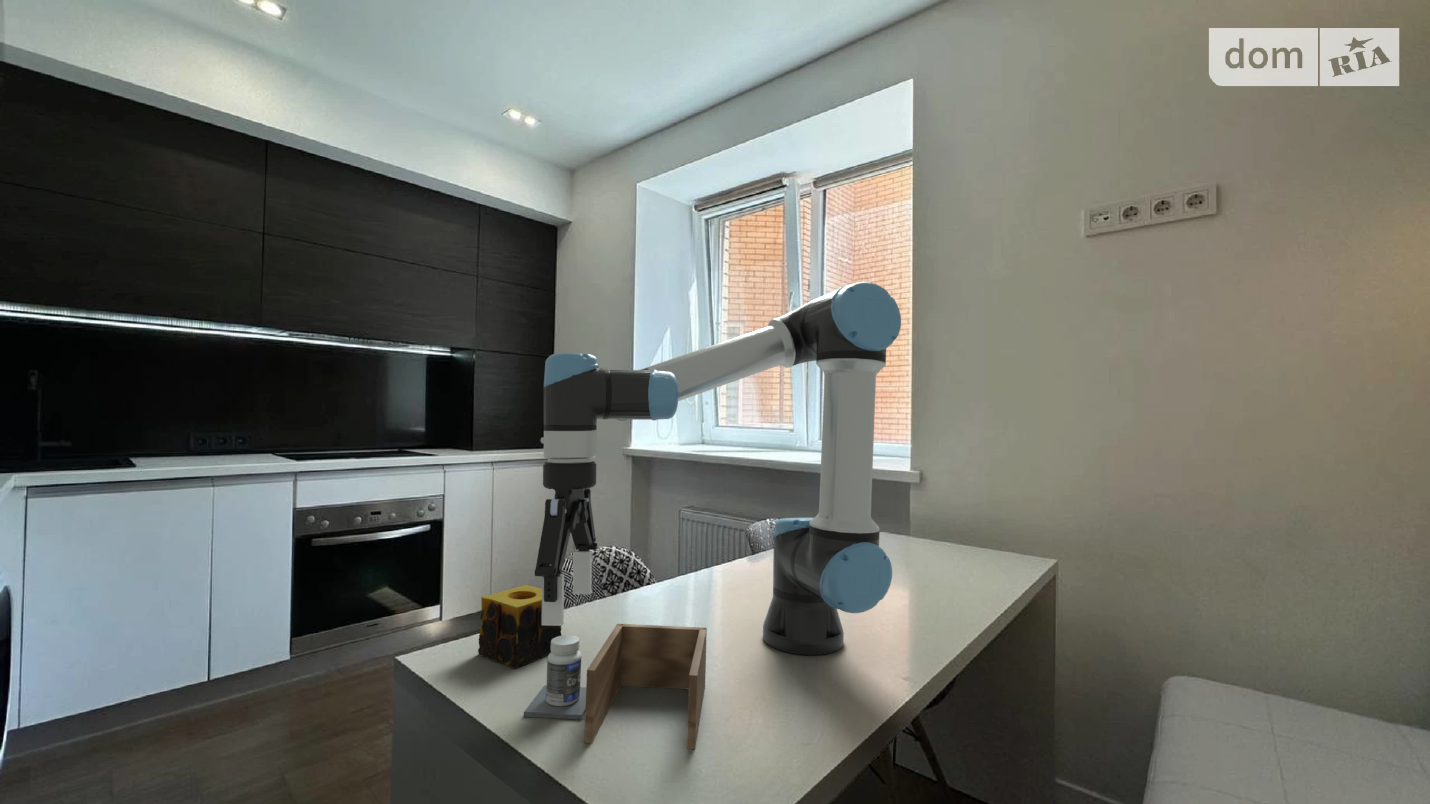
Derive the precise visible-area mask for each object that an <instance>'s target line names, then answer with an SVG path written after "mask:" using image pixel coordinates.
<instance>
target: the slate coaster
mask: <svg viewBox="0 0 1430 804" xmlns="http://www.w3.org/2000/svg"><path fill="white" fill-rule="evenodd" d="M546 685H547V684H545V685H543V687H541V689H540V691H539V692H538V693H537V694H536V696H535V697H534V698H533V699H532V701H531V702H530V703H529V705H528V706H527V707H526V708H525V710H524V711H523V717H526V718H527V717H528V718H529V717H531V718H547V719H549V718H550V719H565V720H566V719H567V720H582V719H583V718H584V717H585V712H586V687H583V686H582V687H581V686H580V698H579V699H578V700H577V701H576V702H575V703H573V704H571V705H567V706H553V705H550V704H549V703H547V701H546Z"/></svg>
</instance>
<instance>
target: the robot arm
mask: <svg viewBox="0 0 1430 804" xmlns="http://www.w3.org/2000/svg"><path fill="white" fill-rule="evenodd" d="M901 327H902V315H901V311H900V308H899V306H898V303H897V302H896V300H895V298H894V297H892V296H891V295H890V293H889V292H888V290H887V289H885V288H884V287H882V286H881V285H879V284H877V283H873V282H870V281H859V282H856V283H850V284H849V283H848V284H845V285H843V286H841V287H839V288H838V289H836V290H834V291H831V292H829V293H827V294H825V295H821V296H819V297H815V298H814V299H813V300H810V301H809V302H807V303H805V304H803V305H801V306H799V307H798V308H796V309H795V310H793V311H789V312H787V313H786V314H783V315H781V316H779V317H775V318H773V319H770V321H769V322H768V324H767V326H765V327H763V328H759V329H756V330H754V331H751V332H748V333H745V334H741V335H738V336H736V337H733V338H731V339H727V340H724V341H722V342H717V343H715V344H713V345H712V344H711V345H709V346H706V347H703V348H701V349H697V350H694V351H692V352H688V353H685V354H682V355H680V356H677V357H676V356H675V357H674V358H671V359H668V360H665V361H662V362H659V363H656V364H653V365H649V366H647V367H645V368H641V369H607V368H602V367H600V368H599V364H598V358H597V357H596V356H595V355H594V354H593V355H592V354H589V353H579V352H561V353H560V352H559V353H558V352H557V353H553V354H551V355H549V356H548V357H547V358H546V360H545V365H544V376H543V377H544V378H543V379H544V380H543V437H541V438H540V443H541V444H543V457H544V458H545V459H547V461H545V462H544V464H543V465H542V485H543V487H544V489H548V490H554V492H555V493H554V498H552V499H551V498H547V499H545V503H544V517H543V523H542V524H543V525H542V531H541V535H540V540H539V541H540V542H539V546H538V547H539V548H538V553H537V559H536V564H535V569H534V576H535V577H541V589H542V625H548V626H561V627H562V626H563V625H564V624H565V622H564V619H565V618H564V616H565V615H564V613H565V610H564V609H565V607H564V606H565V605H564V604H565V603H564V601H565V574H562V571H563V567H564V563H565V562H564V561H565V557H566V553H567V549H568V545H569V541H570V537H572V541H573V544H574V547H575V550H574V551H573V552H572V553H573V554H572V563H573V564H572V595H591V594H592V568H593V567H592V564H593V563H592V561H593V559H592V557H593V555H592V553H593V551H597V550H598V543H597V542H596V541H597V538H596V531H595V524H594V523H595V522H594V516H593V509H592V508H593V507H592V501H591V500H592V499H591V498H592V497H591V496H592V495H591V493H592V490H591V488H593V487H595V486H596V484H597V463H596V461H594V459H595V458H596V457H597V456H598V454H597V453H598V450H597V448H598V447H597V446H598V444H597V443H598V442H597V441H598V440H597V439H598V437H597V436H598V434H597V433H598V431H597V423H598V420H617V421H627V420H629V421H633V420H638V421H639V420H644V421H645V420H646V421H647V420H651V421H658V420H670V419H672V418H673V417H674V416H675V415H676V412H677V410H678V405H679V402H680V401H682V400H685V399H688V398H692V397H694V396H697V395H700V394H703V393H706V392H709V391H711V390H715V389H717V388H718V387H722V386H725V385H729V384H731V383H733V382H736V381H739V380H741V379H742V380H743V379H744V378H749V377H750V376H753V375H755V374H758V373H761V372H763V371H767V370H770V369H772V368H775V367H778V366H781V367H784V368H791V367H793V366H794V367H795V366H796V365H799V364H804V363H809V362H814V361H815V362H816V363H815V364H816V366H817V367H819V369H820V371H822V373H823V374H824V377H823V378H824V381H823V402H822V407H823V408H822V426H821V427H822V432H821V454H820V456H821V457H820V474H819V475H820V477H819V478H820V479H819V503H818V504H819V505H818V506H819V507H818V508H819V509H818V513H817V514H816V516H815V517H786V518H785V517H784V518H780V519H777V521H776V522H775V524H774V531H773V536H772V537H773V538H772V539H773V566H772V567H773V571H772V572H773V573H772V575H773V577H772V598H771V601H770V604H769V606H768V609H767V613H766V616H765V619H764V621H763V625H762V640H763V641H764V642H765V643H766V644H767V645H768V646H770V647H771V648H774V649H776V650H778V651H782V652H784V653H789V654H794V655H795V654H796V655H802V656H803V655H805V656H818V655H819V656H820V655H827V654H828V655H829V654H832V653H835V652H837V651H839V650H840V649H842V648H843V646H844V633H845V632H844V628H843V626H842V625H843V624H842V622H841V618H840V615H839V612H838V610H840V611H842V612H844V613H848V614H861V613H865V612H867V611H870V610H871V609H874V608H875V607H876V606H877V605H878V604H879V602H880V601H881V600H883V599H884V598H885V596H886V594H888V591H889V589H890V587H891V585H892V579H893V565H892V563H891V560H890V558H889V556H887V554H886V552H885V550H884V549H883V548H881V547H880V532H881V531H880V526H879V525H878V524H877V523H876V521H875V520H874V519H872V516H871V515H872V494H873V493H872V491H873V463H874V462H873V461H874V440H875V439H874V438H875V437H874V435H875V410H876V387H877V383H876V382H877V375H878V373H879V372H881V371H882V369H884V368H885V367H886V363H887V362H886V361H887V348H889V347H890V346H891V345H892V344H893V343H894V341H895V340H896V339H898V337H899V334H900V332H901Z"/></svg>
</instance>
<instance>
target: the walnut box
mask: <svg viewBox="0 0 1430 804" xmlns="http://www.w3.org/2000/svg"><path fill="white" fill-rule="evenodd" d="M707 630H708V628H707V627H702V626H701V627H700V626H699V627H698V626H697V627H696V626H679V625H678V626H676V625H655V624H636V623H635V624H627V623H616V624H615V626H614V628H613V629H612V631H611V633H610V634H609V636H608V637H607V638H606V640H605V642H604V643H603V645H602V646H601V647H600V649H599V651H598V652H597V654H596V655H595V657H594V658H593V660H592V662H590V665H589V666H588V668H587V669H586V685H585V686H586V712H585V714H584V741H583V742H584V744H593V743H594V741H595V738H596V736H597V734H598V733H599V730H600V728H601V726H602V724H603V722H604V720H605V718H606V715H607V714H608V712H609V710H610V709H611V706H612V703H613V702H614V700H615V697H616V695H617V694H618V691H619V689H620V687H621V686H623V687H640V688H641V687H642V688H657V689H659V688H660V689H676V690H677V689H678V690H679V689H682V690H688V701H687V703H688V705H687V706H688V707H687V708H688V709H687V711H688V712H687V714H688V715H687V741H686V742H687V746H686V749H688V750H689V749H690V750H696V745H697V741H698V736H699V735H698V734H699V726H700V720H701V715H702V708H703V703H704V696H705V691H706V690H705V689H706V673H707V672H706V669H707V667H706V666H707V665H706V664H707V634H708V633H707Z"/></svg>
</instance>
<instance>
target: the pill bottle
mask: <svg viewBox="0 0 1430 804" xmlns="http://www.w3.org/2000/svg"><path fill="white" fill-rule="evenodd" d="M546 665H547V666H546V684H545V685H546V701H547V703H549V704H550V705H553V706H567V705H571V704H573V703H575V702H576V701H577V700H578V699H579V698H580V687H581V679H582V677H581V676H582V675H581V674H582V673H581V672H582V653H581V651H580V638H579V636H576V635H572V634H571V635H570V634H569V635H567V634H565V635H561V636H558V637H555V638H553V639H552V640H551V653H550V654H549V655H547V661H546Z"/></svg>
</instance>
